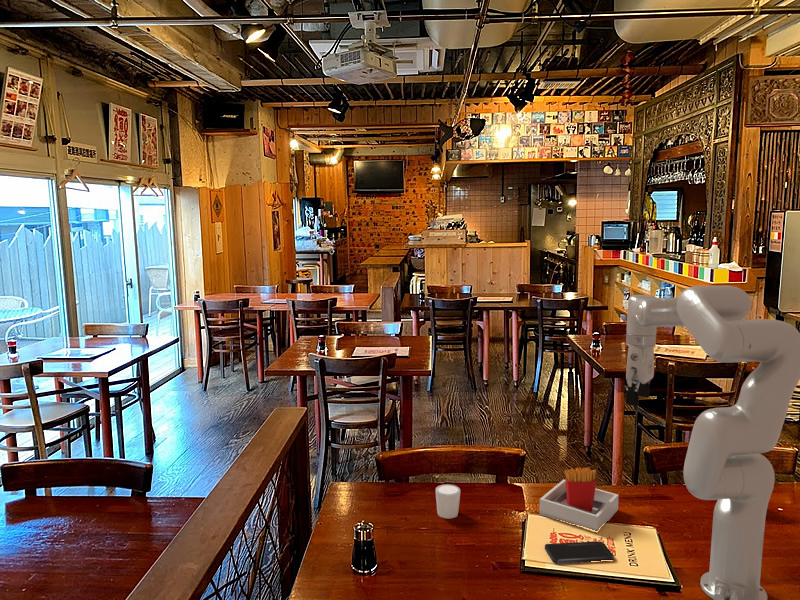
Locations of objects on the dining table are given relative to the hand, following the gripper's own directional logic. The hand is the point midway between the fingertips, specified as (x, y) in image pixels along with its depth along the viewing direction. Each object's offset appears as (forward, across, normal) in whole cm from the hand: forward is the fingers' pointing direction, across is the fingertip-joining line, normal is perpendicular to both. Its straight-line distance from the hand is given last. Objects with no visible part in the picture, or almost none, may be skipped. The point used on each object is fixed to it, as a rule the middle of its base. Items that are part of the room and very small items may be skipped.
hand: (637, 400), depth 165 cm
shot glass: (+31, -37, +38) cm, 61 cm away
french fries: (+30, -14, +10) cm, 34 cm away
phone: (+31, -34, +2) cm, 46 cm away
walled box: (+30, -14, +10) cm, 35 cm away
